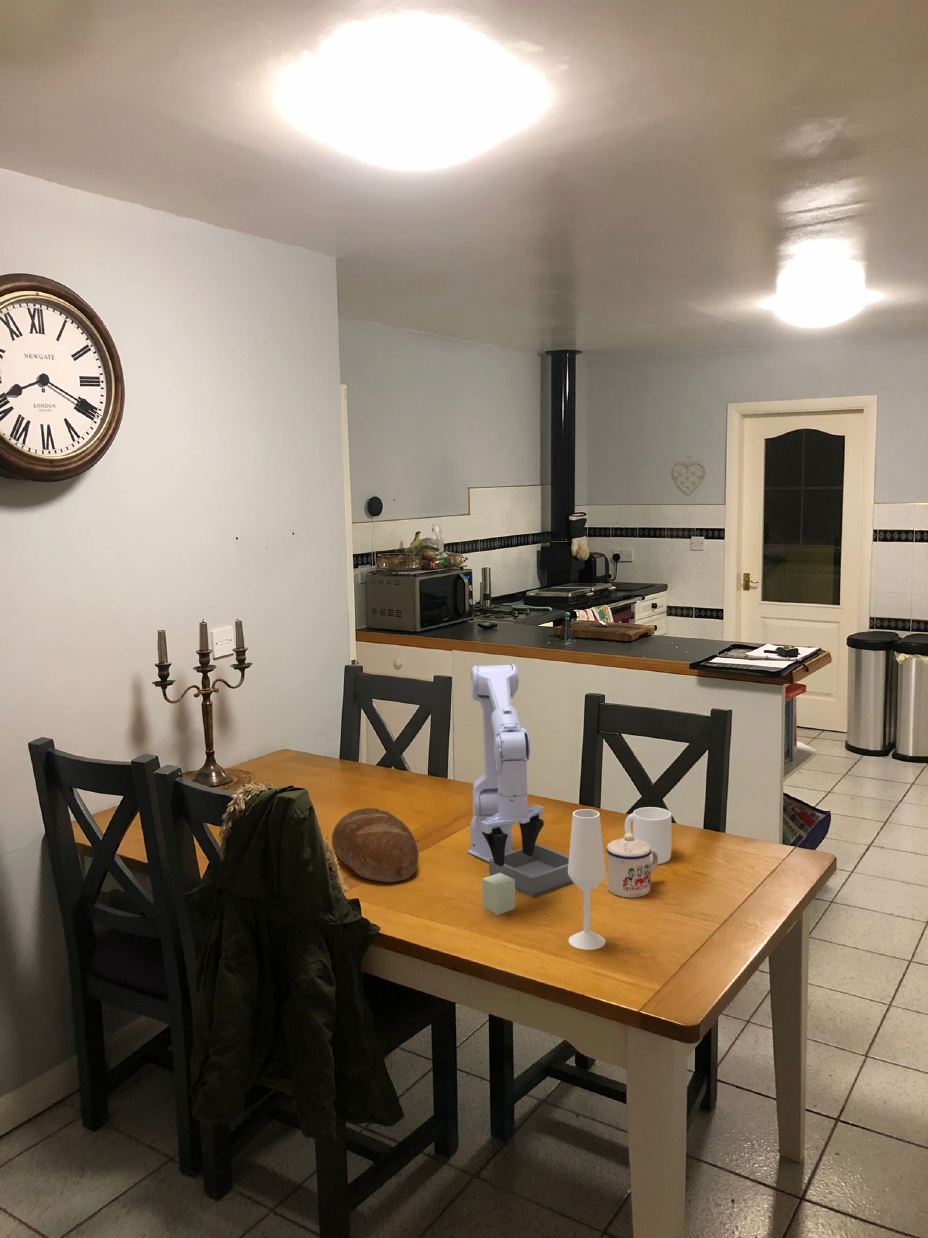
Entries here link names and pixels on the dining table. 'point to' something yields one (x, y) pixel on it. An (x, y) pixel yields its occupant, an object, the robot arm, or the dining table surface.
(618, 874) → the teacup with lid
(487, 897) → the block
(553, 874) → the bin
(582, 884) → the champagne flute
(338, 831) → the bread
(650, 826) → the mug
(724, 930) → the dining table surface
